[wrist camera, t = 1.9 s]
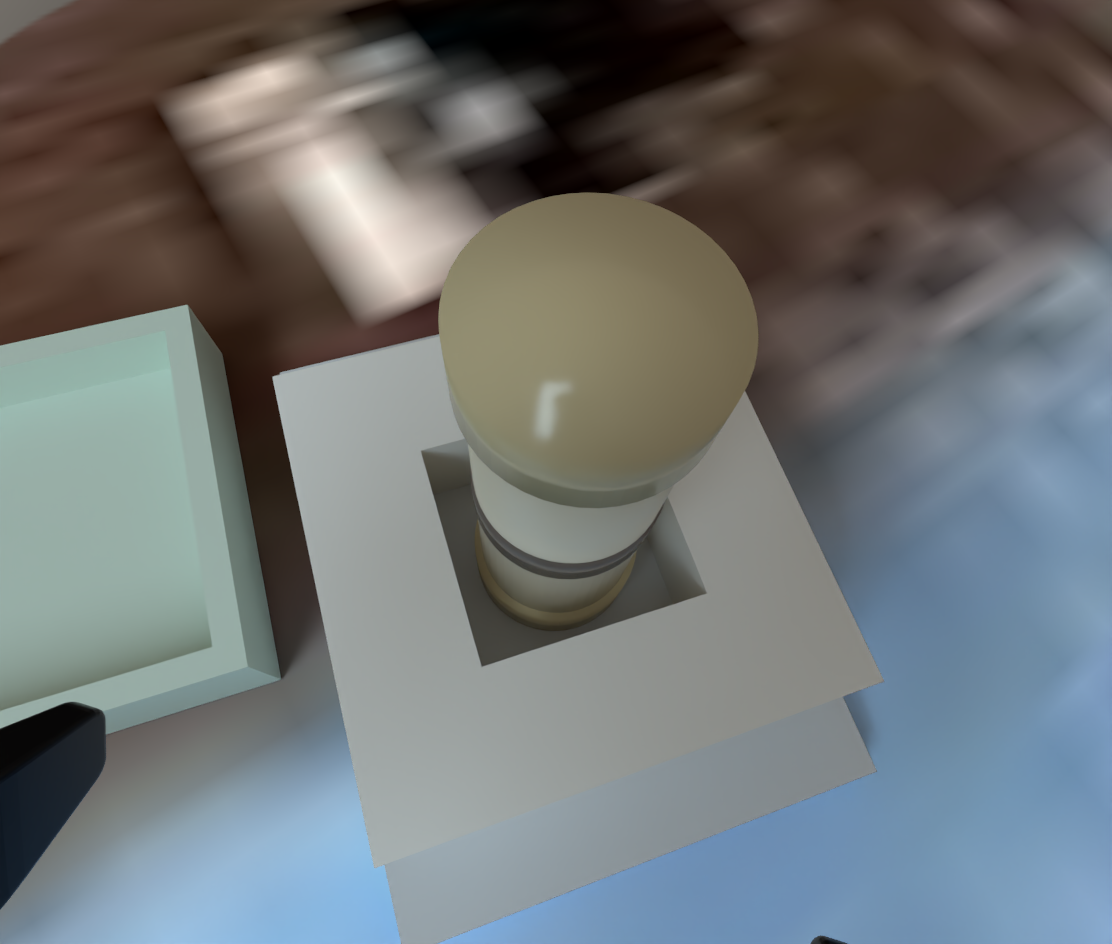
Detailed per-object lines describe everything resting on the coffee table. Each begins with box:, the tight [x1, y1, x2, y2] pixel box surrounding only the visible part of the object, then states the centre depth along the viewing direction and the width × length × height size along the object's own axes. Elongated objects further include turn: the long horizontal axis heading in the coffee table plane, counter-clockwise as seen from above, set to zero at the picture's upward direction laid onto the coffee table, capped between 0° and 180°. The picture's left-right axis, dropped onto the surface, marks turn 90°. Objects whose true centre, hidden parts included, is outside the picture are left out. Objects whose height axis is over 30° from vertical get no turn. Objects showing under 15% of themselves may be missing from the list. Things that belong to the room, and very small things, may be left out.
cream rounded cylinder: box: [438, 193, 758, 631], centre depth 17 cm, size 5×5×13 cm
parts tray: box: [0, 305, 281, 734], centre depth 21 cm, size 12×12×3 cm
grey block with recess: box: [272, 334, 884, 944], centre depth 21 cm, size 18×14×4 cm
